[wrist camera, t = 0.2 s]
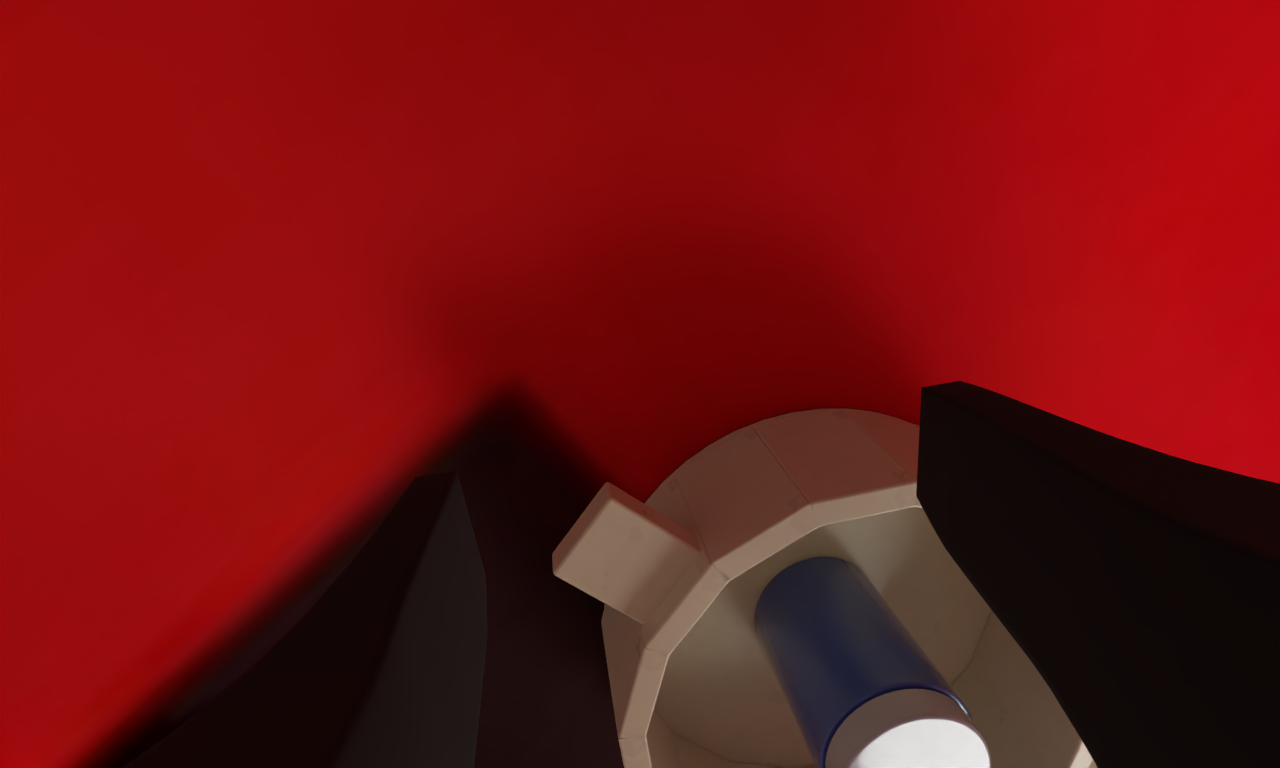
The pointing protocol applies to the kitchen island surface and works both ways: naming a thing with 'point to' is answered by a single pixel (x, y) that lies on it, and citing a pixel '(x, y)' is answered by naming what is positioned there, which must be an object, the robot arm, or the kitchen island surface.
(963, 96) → the kitchen island surface
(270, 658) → the robot arm
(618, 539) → the pot
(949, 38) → the kitchen island surface
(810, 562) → the salt shaker
